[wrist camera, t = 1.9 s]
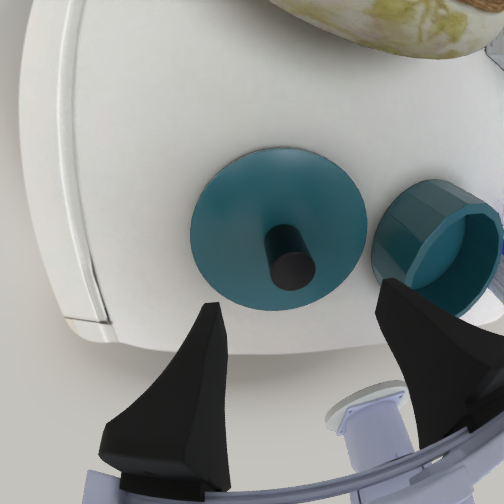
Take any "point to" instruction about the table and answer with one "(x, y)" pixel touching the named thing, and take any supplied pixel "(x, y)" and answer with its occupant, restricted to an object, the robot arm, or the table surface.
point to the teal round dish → (439, 244)
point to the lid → (278, 229)
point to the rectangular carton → (497, 49)
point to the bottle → (498, 279)
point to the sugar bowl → (406, 24)
